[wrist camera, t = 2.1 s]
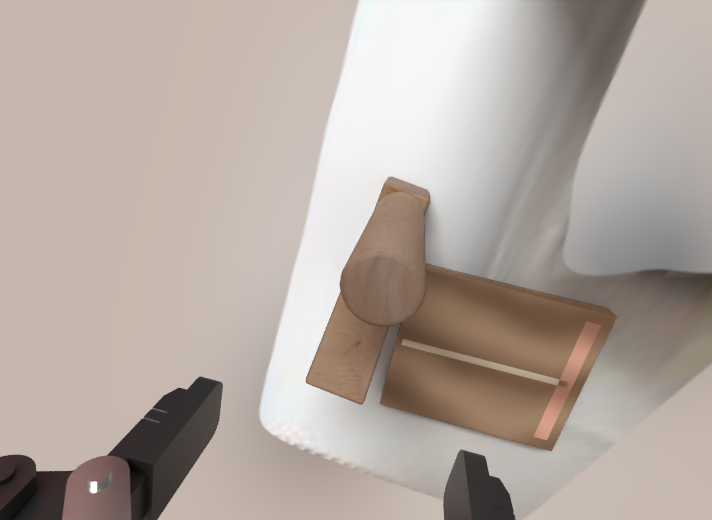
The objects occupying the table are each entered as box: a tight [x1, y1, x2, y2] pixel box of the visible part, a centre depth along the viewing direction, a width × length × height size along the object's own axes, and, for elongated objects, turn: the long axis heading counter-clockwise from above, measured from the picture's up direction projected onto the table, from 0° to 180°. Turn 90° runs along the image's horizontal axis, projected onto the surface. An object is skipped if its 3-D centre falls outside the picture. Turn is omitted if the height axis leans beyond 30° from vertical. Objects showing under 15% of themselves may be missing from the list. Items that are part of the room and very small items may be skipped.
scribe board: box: [380, 264, 616, 451], centre depth 36 cm, size 14×16×2 cm
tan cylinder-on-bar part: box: [306, 177, 430, 404], centre depth 26 cm, size 4×11×18 cm, turn 161°
